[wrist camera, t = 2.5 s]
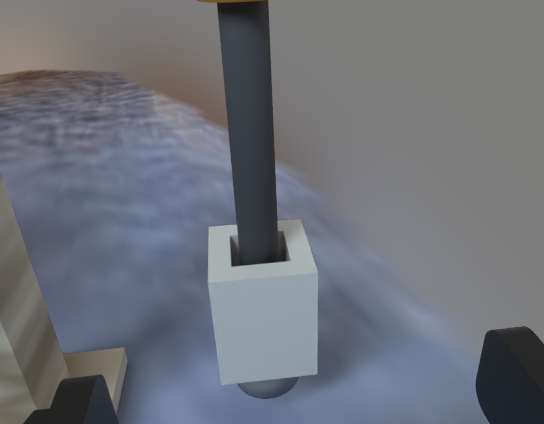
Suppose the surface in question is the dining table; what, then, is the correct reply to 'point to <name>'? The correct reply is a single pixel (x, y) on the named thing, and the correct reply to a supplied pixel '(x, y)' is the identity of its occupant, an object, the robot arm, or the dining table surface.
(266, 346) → the sleeve
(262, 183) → the dark grey piece
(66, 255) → the dining table surface
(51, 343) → the stand
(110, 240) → the dining table surface
